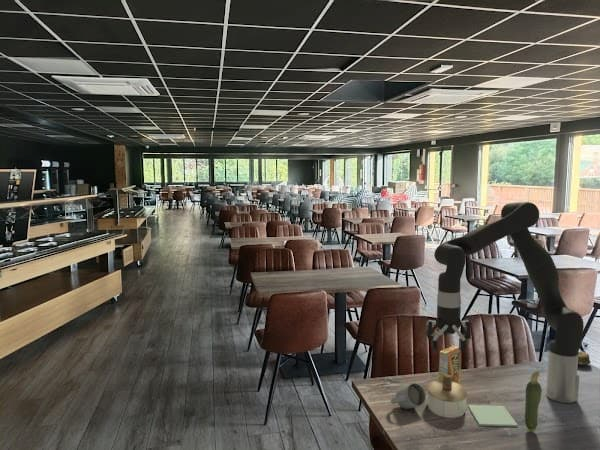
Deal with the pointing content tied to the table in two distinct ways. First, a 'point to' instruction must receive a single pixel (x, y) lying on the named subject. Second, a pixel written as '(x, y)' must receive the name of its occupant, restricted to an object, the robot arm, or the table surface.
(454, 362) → the candy box
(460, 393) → the lid
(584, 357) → the cake
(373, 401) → the table surface
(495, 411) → the mat
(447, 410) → the bowl
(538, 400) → the vegetable
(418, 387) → the ceramic mug
